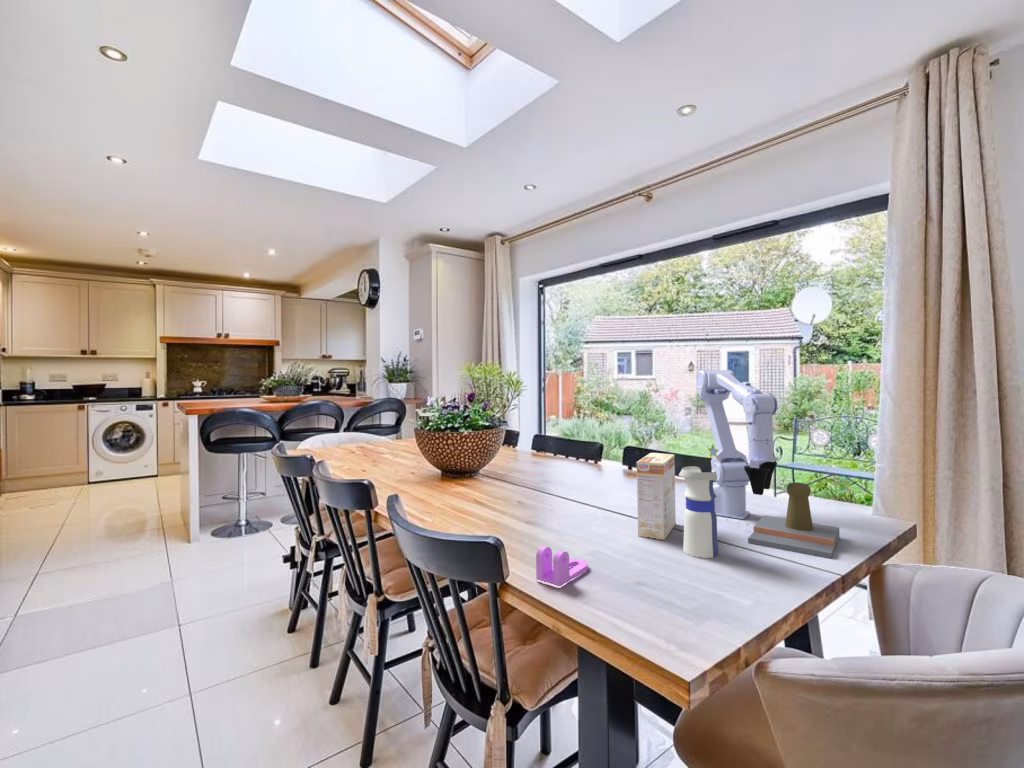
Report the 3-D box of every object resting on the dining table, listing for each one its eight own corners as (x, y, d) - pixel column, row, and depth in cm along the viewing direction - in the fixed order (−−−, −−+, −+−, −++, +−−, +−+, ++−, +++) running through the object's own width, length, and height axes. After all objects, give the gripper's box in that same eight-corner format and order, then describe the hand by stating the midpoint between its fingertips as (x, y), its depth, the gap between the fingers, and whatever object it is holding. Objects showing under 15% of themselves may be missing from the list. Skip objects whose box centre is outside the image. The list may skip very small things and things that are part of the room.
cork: (806, 523, 122) (806, 480, 122) (817, 531, 116) (817, 486, 116) (781, 522, 123) (780, 480, 123) (790, 530, 117) (790, 485, 117)
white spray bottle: (690, 542, 118) (688, 441, 117) (725, 551, 112) (724, 444, 111) (674, 551, 112) (672, 445, 112) (710, 561, 106) (709, 448, 105)
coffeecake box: (650, 520, 136) (649, 452, 136) (676, 524, 132) (675, 453, 132) (636, 536, 123) (635, 461, 123) (664, 540, 119) (663, 463, 119)
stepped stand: (748, 542, 117) (748, 532, 117) (763, 525, 130) (763, 515, 130) (831, 558, 106) (831, 547, 106) (839, 537, 119) (839, 527, 119)
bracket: (559, 590, 94) (558, 554, 94) (536, 582, 97) (535, 548, 97) (592, 568, 104) (592, 536, 104) (570, 562, 107) (570, 531, 107)
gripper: (771, 443, 117) (772, 499, 117) (783, 437, 128) (784, 488, 128) (740, 441, 121) (741, 495, 121) (754, 436, 132) (755, 485, 132)
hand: (761, 491), depth 125 cm, fingers open, 7 cm apart
